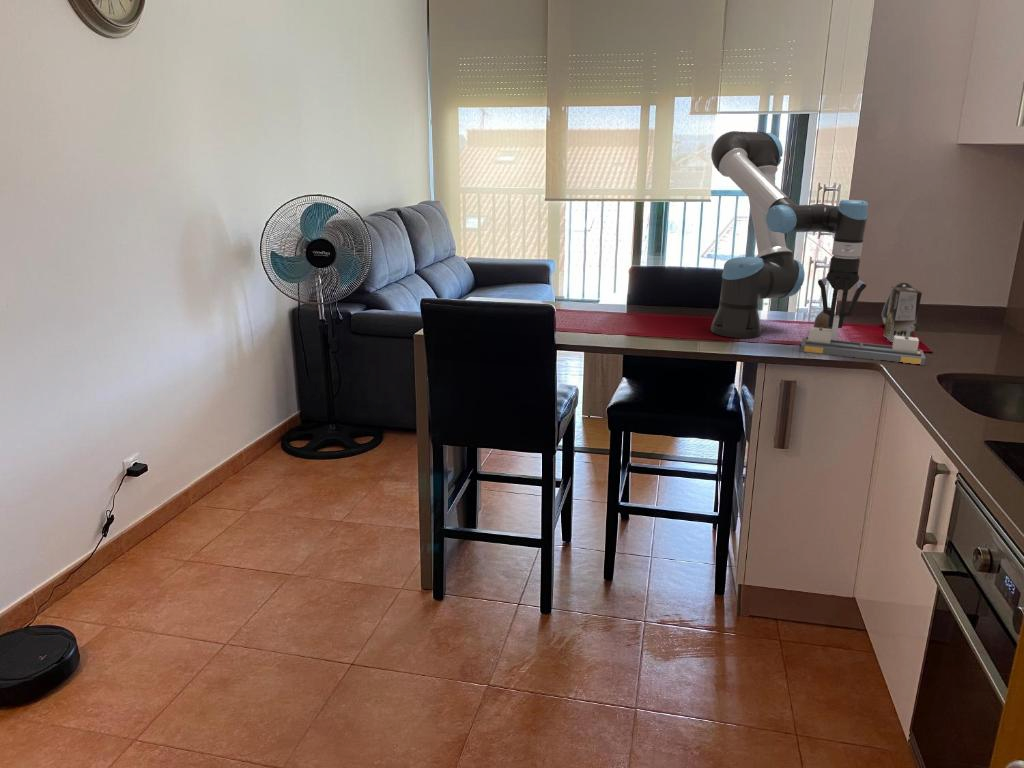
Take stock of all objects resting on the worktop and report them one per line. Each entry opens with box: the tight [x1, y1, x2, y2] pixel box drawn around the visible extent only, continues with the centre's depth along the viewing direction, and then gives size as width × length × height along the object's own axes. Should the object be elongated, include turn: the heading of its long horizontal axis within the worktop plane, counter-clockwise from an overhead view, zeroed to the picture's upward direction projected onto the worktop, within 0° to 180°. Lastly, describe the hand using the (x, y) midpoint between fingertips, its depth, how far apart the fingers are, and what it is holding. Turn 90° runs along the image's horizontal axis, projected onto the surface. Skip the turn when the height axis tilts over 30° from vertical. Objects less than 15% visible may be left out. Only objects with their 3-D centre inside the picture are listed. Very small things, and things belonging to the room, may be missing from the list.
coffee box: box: [883, 286, 923, 343], centre depth 229 cm, size 9×6×16 cm
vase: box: [813, 307, 837, 329], centre depth 236 cm, size 7×7×9 cm
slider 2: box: [891, 335, 920, 353], centre depth 210 cm, size 6×4×4 cm, turn 67°
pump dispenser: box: [881, 281, 914, 325], centre depth 247 cm, size 10×10×15 cm
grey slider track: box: [800, 336, 927, 366], centre depth 215 cm, size 32×10×3 cm, turn 67°
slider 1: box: [807, 326, 832, 344], centre depth 218 cm, size 6×4×4 cm, turn 67°
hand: (833, 338), depth 217 cm, fingers closed
